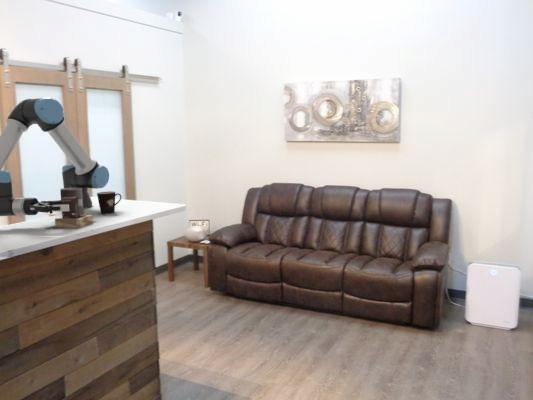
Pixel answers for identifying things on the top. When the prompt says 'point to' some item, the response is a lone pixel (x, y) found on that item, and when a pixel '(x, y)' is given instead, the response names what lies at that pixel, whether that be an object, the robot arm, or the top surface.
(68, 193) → the pillar candle
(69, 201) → the box
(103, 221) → the top surface
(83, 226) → the mat
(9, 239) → the top surface
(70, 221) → the wooden tray
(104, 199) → the coffee mug
